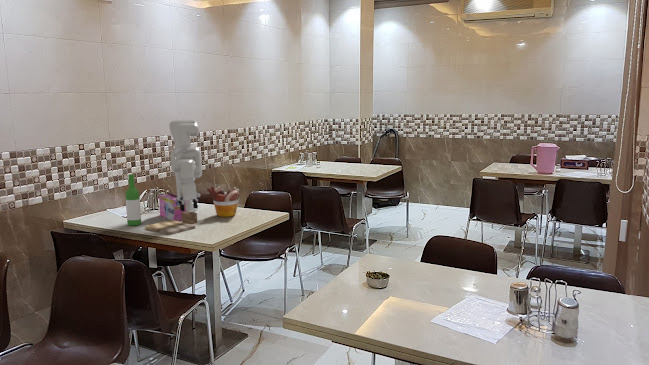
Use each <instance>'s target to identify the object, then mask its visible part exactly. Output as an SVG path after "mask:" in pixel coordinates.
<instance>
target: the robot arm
mask: <svg viewBox="0 0 649 365" xmlns="http://www.w3.org/2000/svg"><path fill="white" fill-rule="evenodd" d="M168 126H169V132H170V134H171V138H173V139H172V140H173V142H174V148H173V149H172V150H171V153H170V158H169V159H170V160H169V161H170V168H171V170H172V171H173V172H174V177H175V183H176V195H177V197H176V200H177V202H178V203H179V204H180V210H181V211H185V208H184V202H185V201H186V212H187V211H190V212H196V209H197V210H198V208H199V207H200V205H199V203H198V202H199V200H200V199H201V193H199V192H197V186H196V185H197V184H196V183H195V181H196V178H197V179H198V178H201V177H202V175H203V166H202V165H203V163H202V156H201V150H200V148H199V147H196V146H193V147H192V145H191V143H192V142H191V137H194V138H195V137H198V136H199V134H200V127H199V124H198V122H197V121H196V120H195V119H175V120H172V121H170V122H169V124H168Z"/></svg>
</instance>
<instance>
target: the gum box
mask: <svg viewBox="0 0 649 365" xmlns="http://www.w3.org/2000/svg"><path fill="white" fill-rule="evenodd" d="M176 197H177V194H173V193H169V192H168V193H167V194H158V200H159V204H158V205H159V216H161V217H164V218H165V219H168V220H174V221H178V222H182V212H186V201H185V202H184V208H185V211H181V210H180V204H179V203H178V202H177V200H176Z"/></svg>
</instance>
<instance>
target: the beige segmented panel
mask: <svg viewBox="0 0 649 365" xmlns="http://www.w3.org/2000/svg"><path fill="white" fill-rule="evenodd" d="M180 224H184V222H182V221H174V220H170V219H168V220H164V221H161V222H157V223H153V224H152V223H151V224H147V225H145V226H144V228H145V229H146V230H149V231H153V232H158V233H160V232H159V230H160V229H164V228H168V227H172V226H176V225H180Z"/></svg>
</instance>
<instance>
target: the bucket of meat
mask: <svg viewBox="0 0 649 365" xmlns="http://www.w3.org/2000/svg"><path fill="white" fill-rule="evenodd" d="M207 192H208V194H209V195H210V197H211V199H212V201H213V205H214V206H213V207H214V209H215V210H214V211H215V213H216V215H217V217H220V218H231V217H234V216H235V215H236V214H237V208H238V205H239V204H238V203H239V198H240V193H239V192H240V189H239V188H237V187H236V186H233V190H232V189H231V188H230V189H229V190H227V191H226V190H225V189H224V188H221V187H220V186H217V187H216V188H215V186H213V185H212V186H211V187H207Z"/></svg>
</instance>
